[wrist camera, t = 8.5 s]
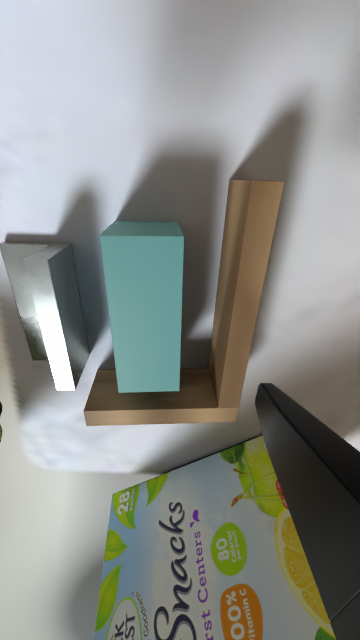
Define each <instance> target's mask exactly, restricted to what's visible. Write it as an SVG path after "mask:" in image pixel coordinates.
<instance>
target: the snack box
mask: <svg viewBox="0 0 360 640" xmlns="http://www.w3.org/2000/svg"><path fill="white" fill-rule="evenodd" d="M330 622H331V621H330V620H329V618H328V616H327V613H326V610H325V607H324V605H323V602H322V599H321V597H320V594H319V591H318V588H317V586H316V583H315V580H314V577H313V575H312V572H311V569H310V567H309V564H308V561H307V558H306V556H305V553H304V550H303V547H302V545H301V542H300V539H299V537H298V534H297V531H296V528H295V526H294V523H293V520H292V517H291V515H290V512H289V509H288V507H287V504H286V501H285V498H284V496H283V493H282V490H281V488H280V485H279V482H278V479H277V477H276V474H275V471H274V468H273V466H272V463H271V460H270V458H269V455H268V452H267V449H266V446H265V442H264V438H263V435H262V436H260V437H257V438H255V439H252V440H249V441H247V442H244V443H242V444H239V445H237V446H234V447H232V448H229V449H227V450H224V451H222V452H219V453H216V454H214V455H211V456H209V457H206V458H204V459H201V460H199V461H196V462H193V463H191V464H188V465H186V466H183V467H181V468H178V469H176V470H173V471H171V472H168V473H165V474H163V475H160V476H158V477H155V478H153V479H150V480H148V481H145V482H142V483H140V484H137V485H135V486H133V487H130V488H127V489H125V490H122V491H119V492H117V493H115V494H113V496H112V503H111V511H110V519H109V526H108V533H107V541H106V549H105V556H104V564H103V572H102V579H101V586H100V595H99V603H98V610H97V617H96V625H95V633H94V640H336V638H335V635H334V632H333V630H332V627H331V624H330Z"/></svg>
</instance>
